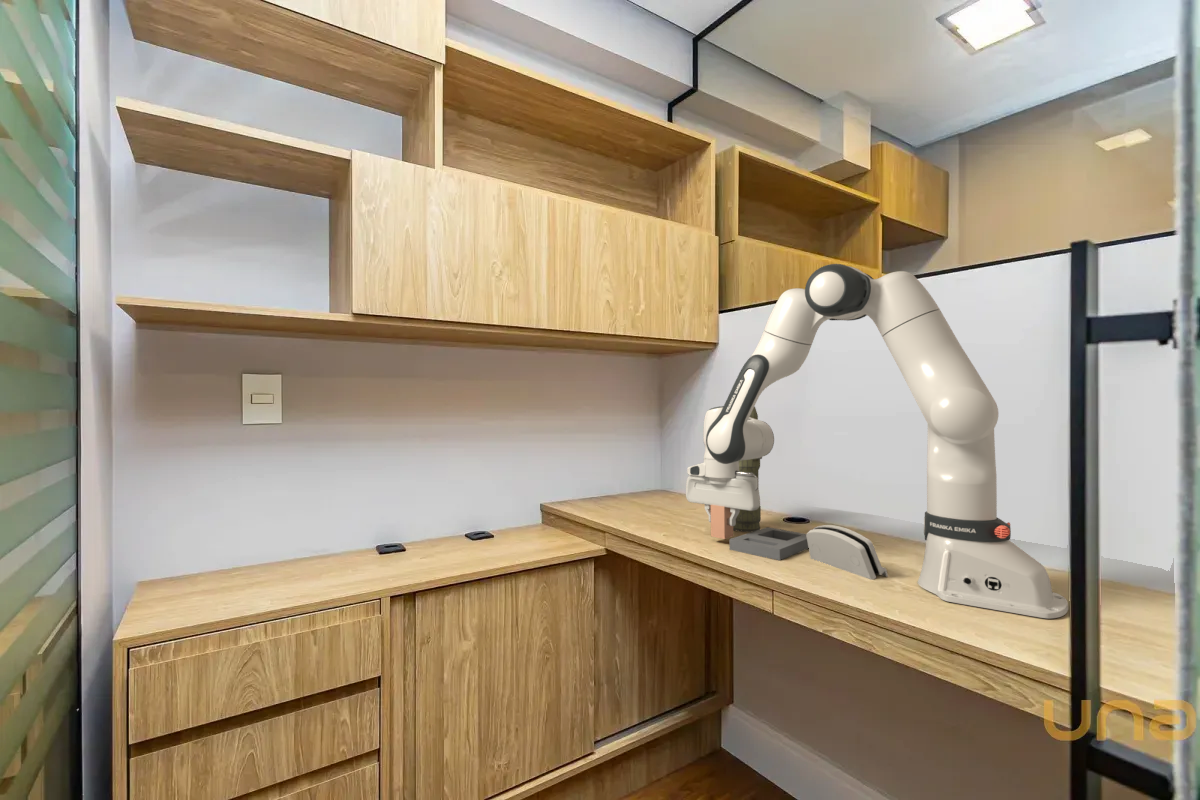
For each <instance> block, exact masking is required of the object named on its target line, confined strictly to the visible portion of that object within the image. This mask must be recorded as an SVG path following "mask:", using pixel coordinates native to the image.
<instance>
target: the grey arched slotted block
mask: <svg viewBox="0 0 1200 800" xmlns="http://www.w3.org/2000/svg"><path fill="white" fill-rule="evenodd" d="M805 534H806V537H807V542H808V547H809V549H808V552H809V558H810V560H813V559H814V560H813V561H816V560H817V562H819V561H820V562H819V563H822V562H823V563H822V564H824V563H825V564H826V565H827V564H828V566H830V565H831V567H833V568H836V569H839V570H841V571H845V572H848V573H850V574H854V575H857V576H859V577H862V578H865V579H867V580H875V579H877V575H880V576H883V577H889V575H888V571H887V568H886V567H883V566H882V565H881V562H880V559H879V557H878V554H877V551H876V549H875V546H874V544H873V542H872V541H871V539H869V538H867V537H865V536H864V535H862V534H861V533H859V532H856V531H854V530H851V529H849V528H846V527H844V526H838V525H833V524H825V525H824V524H823V525H818V526H815V527H814V528H813V529H810V530H809V531H808V532H807V533H805ZM825 564H824V565H825Z"/></svg>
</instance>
